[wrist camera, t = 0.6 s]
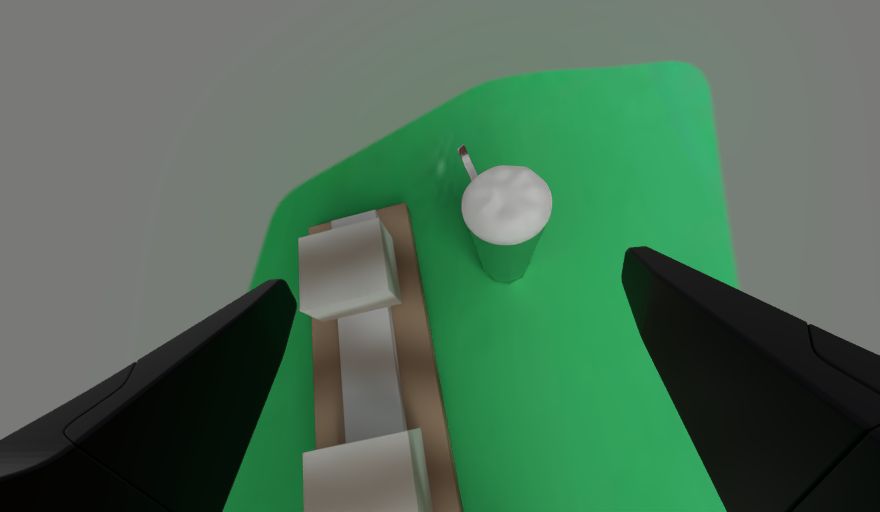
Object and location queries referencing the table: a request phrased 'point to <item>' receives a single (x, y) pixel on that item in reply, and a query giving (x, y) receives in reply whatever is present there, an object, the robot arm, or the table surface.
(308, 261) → the wooden board with pads
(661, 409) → the table surface
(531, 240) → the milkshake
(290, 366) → the table surface
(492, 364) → the table surface
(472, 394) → the table surface
